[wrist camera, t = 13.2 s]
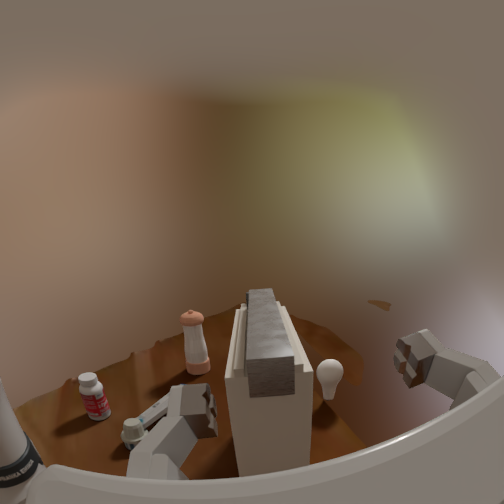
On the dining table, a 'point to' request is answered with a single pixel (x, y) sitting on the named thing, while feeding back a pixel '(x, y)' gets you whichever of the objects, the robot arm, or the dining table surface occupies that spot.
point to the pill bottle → (93, 396)
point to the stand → (268, 408)
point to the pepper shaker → (195, 343)
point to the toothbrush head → (143, 422)
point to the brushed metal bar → (268, 348)
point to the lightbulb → (329, 376)
